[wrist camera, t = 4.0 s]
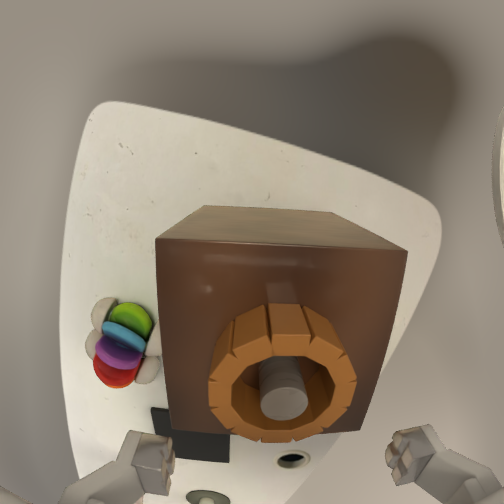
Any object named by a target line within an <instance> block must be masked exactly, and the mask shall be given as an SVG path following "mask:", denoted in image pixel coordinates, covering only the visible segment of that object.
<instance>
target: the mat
mask: <svg viewBox="0 0 504 504" xmlns="http://www.w3.org/2000/svg"><path fill="white" fill-rule="evenodd" d="M151 414H152V419H153V424H154V429H155V433H156V435H160V436H165V437H171V438H172V443H173V444H172V448H171V449H173V450H174V453H175V458H183V459H191V460H200V461H210V462H223V463H229V444H230V434H217V433H205V432H195V431H186V430H178V429H172V425H171V419H170V412H169V410H168V409H161V408H154V407H152V408H151Z"/></svg>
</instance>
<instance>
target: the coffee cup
mask: <svg viewBox="0 0 504 504" xmlns="http://www.w3.org/2000/svg"><path fill="white" fill-rule="evenodd" d="M186 499H187V501H188V502H190V503H191V504H230V500H229V499H228V498H227V497H226V496H224V495H222V494H219V493H216V492H211V491H193V492H190V493H188V494H187V496H186Z"/></svg>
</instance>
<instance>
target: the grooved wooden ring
mask: <svg viewBox="0 0 504 504" xmlns="http://www.w3.org/2000/svg"><path fill="white" fill-rule="evenodd" d="M272 356H305V357H307V358H309V359H311V360H313V361H315V362H317V363H319V364H320V365H319V370H318V371H317V372H316V373H315V374H314V376H313V377H312V378H311V379H310V380H309V381H308V382H307V383H306V384H305V389H306V393H307V398H308V405H307V407H306V409H305V411H304V412H303V413H302V414H301V415H299V416H297V417H296V418H293V419H290V420H283V421H280V420H274V419H271V418H269V417H267V416H266V415H264V413H263V412H262V410H261V408H260V391H259V390H257V389H255V388H253V387H250V386H248V385H246V384H245V383H244V382H243V380H242V379H241V377H240V375H241V373H242V372H243V371H244V370H245V369H246V367H248V366H250V365H252V364H255V363H257V362H260V361H262V360H265V359H267V358H269V357H272ZM356 378H357V376H356V374H355V372H354V369H353V367H352V365H351V362H350V360H349V358H348V355H347V353H346V351H345V349H344V347H343V345H342V343H341V341H340V339H339V337H338V335H337V334H336V332H335V330H334V328H333V326H332V324H331V323H329V321H328V319H326V318H324V317H323V316H321V315H319V314H318V313H316V312H314V311H313V310H311V309H309V308H308V307H306V306H303V308H302V309H301V307H300V304H278V303H268V309H267V310H266V308H265V306H264V305H261V306H259V307H257V308H254V309H252V310H250V311H248V312H246V313H244V314H241V315H239V316H237V317H236V318H235V322H234V321H231V322H230V323H229V324H228V326H227V327H226V329H225V330H224V331H223V333H222V334H221V336H220V337H219V339H218V340H217V341H216V346H215V348H214V353H213V358H212V363H211V368H210V374H209V379H208V398H209V406H211V411H212V413H213V414H214V415H215V416H216V417H217V418H218V420H219V421H220V422H221V423H222V424H223V425H224V427H225V428H226V429H230V428H231V432H233V433H235V434H237V435H240V436H242V437H245V438H248V439H250V440H253V441H256V442H257V441H258V440H259V439H260V438H261V442H262V443H288V442H291V440H292V438H293V439H294V440H295V441H299V440H302V439H304V438H307V437H310V436H312V435H315V434H318V433H320V432H323V427H324V428H328V427H330V426H331V425H332V424H333V423H334V422H335V421H336V420H337V419H338V418H339V417H340V416H341V415H342V414H343V413H344V412H345V411H346V410H347V408H346V407H347V406H350V404H351V401H352V397H353V394H354V391H355V387H356V384H357V381H356Z"/></svg>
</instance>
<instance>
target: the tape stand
mask: <svg viewBox="0 0 504 504" xmlns="http://www.w3.org/2000/svg"><path fill="white" fill-rule="evenodd" d="M155 251H156V279H157V298H158V313H159V326H160V338H161V348H162V358H163V367H164V376H165V384H166V391H167V399H168V406H169V412H170V419H171V425H172V429H178V430H186V431H195V432H205V433H217V434H233V435H237V434H235V433H233V432H231V428H230V429H226V428H225V427H224V425H223V424H222V423H221V422H220V421H219V420H218V418H217V417H216V416H215V415H214V414H213V413H212V411H211V406H209V398H208V379H209V374H210V368H211V363H212V358H213V353H214V348H215V346H216V341H217V340H218V339H219V337H220V336H221V334H222V333H223V331H224V330H225V329H226V327H227V326H228V324H229V323H230V322H231V321H234V322H235V318H236V317H237V316H239V315H241V314H244V313H246V312H248V311H250V310H252V309H254V308H257V307H259V306H261V305H264V306H265V308H266V310H267V309H268V303H278V304H300V307H301V309H302V308H303V306H306V307H308V308H309V309H311V310H313V311H314V312H316V313H318V314H319V315H321V316H323V317H324V318H326V319H328V321H329V323H331V324H332V326H333V328H334V330H335V332H336V334H337V335H338V337H339V339H340V341H341V343H342V345H343V347H344V349H345V351H346V353H347V355H348V358H349V360H350V362H351V365H352V367H353V369H354V372H355V374H356V376H357V378H356V381H357V384H356V387H355V391H354V394H353V397H352V401H351V404H350V406H347V407H346V408H347V410H346V411H345V412H344V413H343V414H342V415H341V416H340V417H339V418H338V419H337V420H336V421H335V422H334V423H333V424H332V425H331V426H330V427H328V428H324V427H323V432H320V433H318V434H327V433H339V432H349V431H357V430H360V428H361V426H362V423H363V420H364V418H365V415H366V413H367V410H368V407H369V404H370V402H371V398H372V396H373V393H374V390H375V387H376V384H377V381H378V378H379V374H380V371H381V368H382V364H383V361H384V358H385V354H386V351H387V347H388V343H389V340H390V336H391V332H392V328H393V324H394V320H395V316H396V311H397V307H398V302H399V298H400V293H401V288H402V283H403V278H404V272H405V267H406V261H407V255H408V251H407V250H405V249H403V248H401V247H399V246H397V245H395V244H393V243H392V242H390V241H388V240H386V239H384V238H382V237H380V236H378V235H376V234H374V233H372V232H370V231H368V230H366V229H364V228H362V227H360V226H358V225H356V224H354V223H352V222H350V221H348V220H346V219H344V218H342V217H340V216H338V215H336V214H334V213H332V212H319V211H305V210H289V209H273V208H254V207H233V206H207V205H204V206H202V207H201V208H199V209H198V210H196V211H195V212H193V213H192V214H190V215H189V216H187V217H186V218H184V219H183V220H181V221H180V222H178V223H177V224H176V225H174V226H173V227H171V228H170V229H168V230H167V231H165V232H164V233H162V234H161V235H160V236H158V237H157V238H156V239H155ZM319 365H320V364H319V363H317V362H315V361H313V360H311V359H309V358H307V357H305V356H272V357H269V358H267V359H265V360H262V361H260V362H257V363H255V364H252V365H250V366H248V367H246V369H245V370H244V371H243V372H242V373H241V375H240V377H241V379H242V380H243V382H244V383H245V384H246V385H248V386H250V387H253V388H255V389H257V390H259V391H260V408H261V410H262V412H263V413H264V415H266V416H267V417H269V418H271V419H274V420H280V421H283V420H290V419H293V418H296V417H297V416H299V415H301V414H302V413H303V412H304V411H305V409H306V407H307V405H308V398H307V393H306V389H305V384H306V383H307V382H308V381H309V380H310V379H311V378H312V377H313V376H314V374H315V373H316V372H317V371H318V370H319Z"/></svg>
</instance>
